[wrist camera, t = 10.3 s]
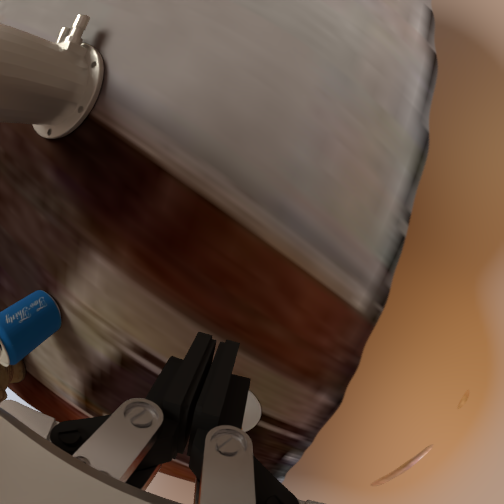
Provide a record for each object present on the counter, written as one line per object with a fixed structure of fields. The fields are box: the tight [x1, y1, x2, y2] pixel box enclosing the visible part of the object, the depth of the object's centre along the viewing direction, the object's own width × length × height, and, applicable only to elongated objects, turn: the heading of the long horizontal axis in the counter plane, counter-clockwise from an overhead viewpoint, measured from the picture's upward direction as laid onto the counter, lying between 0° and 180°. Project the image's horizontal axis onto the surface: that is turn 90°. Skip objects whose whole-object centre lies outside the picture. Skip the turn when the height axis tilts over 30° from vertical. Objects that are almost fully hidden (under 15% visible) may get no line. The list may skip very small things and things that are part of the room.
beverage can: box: [0, 290, 61, 367], centre depth 27 cm, size 6×6×12 cm
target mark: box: [242, 390, 261, 432], centre depth 33 cm, size 12×12×1 cm
